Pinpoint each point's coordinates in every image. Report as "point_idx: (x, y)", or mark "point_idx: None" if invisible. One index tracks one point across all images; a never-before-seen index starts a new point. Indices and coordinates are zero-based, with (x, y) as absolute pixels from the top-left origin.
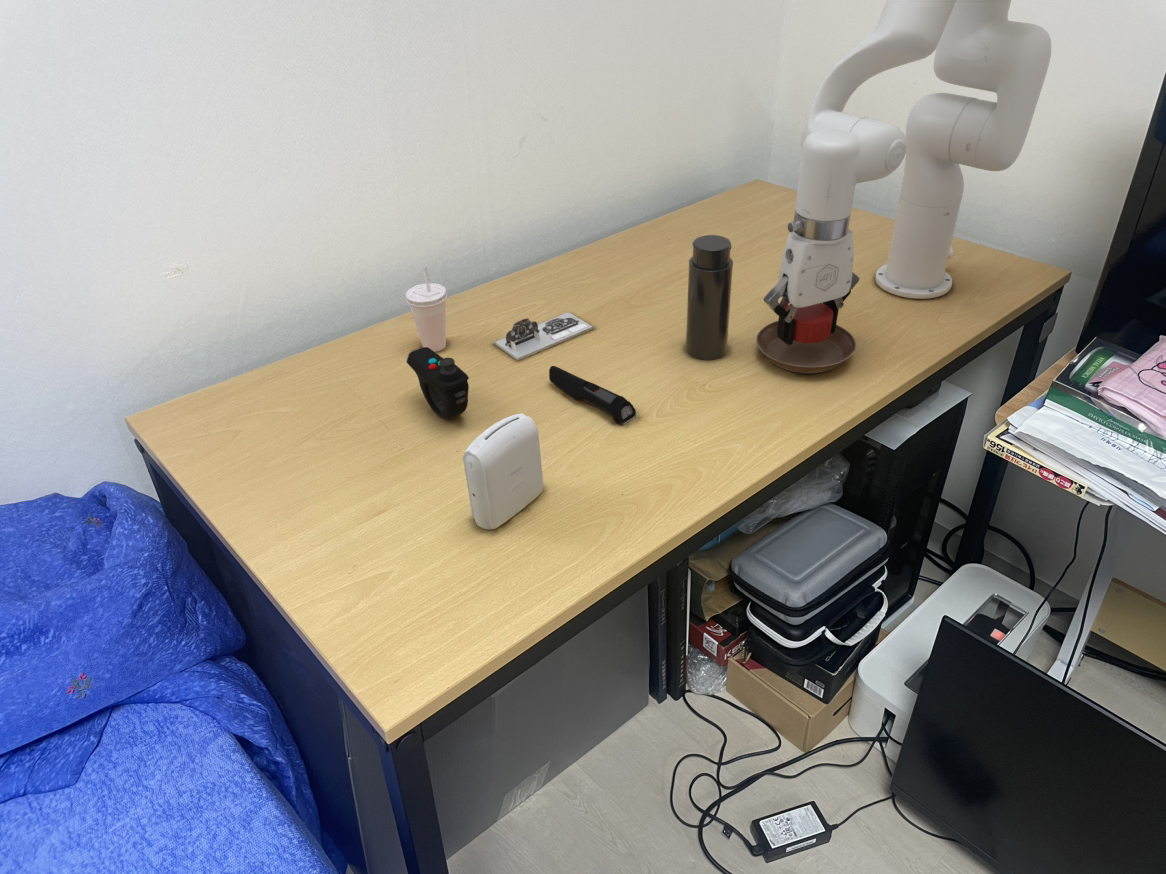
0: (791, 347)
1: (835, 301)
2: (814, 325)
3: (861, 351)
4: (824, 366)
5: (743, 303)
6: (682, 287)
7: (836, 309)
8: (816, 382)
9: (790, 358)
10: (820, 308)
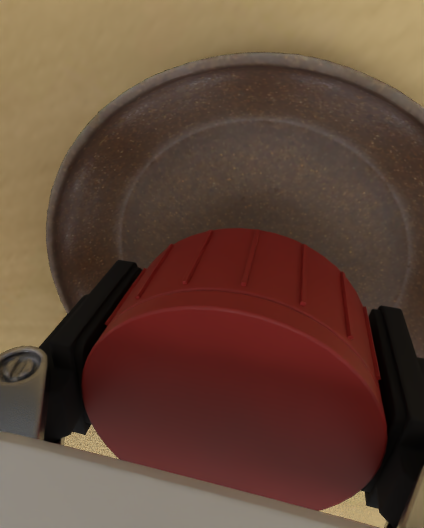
0: None
1: (36, 409)
2: (309, 320)
3: (47, 160)
4: (355, 71)
5: None
6: None
7: (57, 353)
8: (377, 72)
9: None
10: (140, 410)
